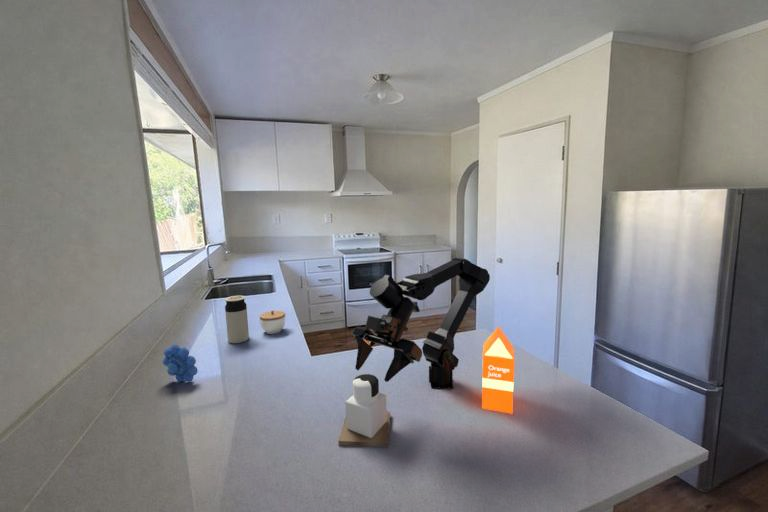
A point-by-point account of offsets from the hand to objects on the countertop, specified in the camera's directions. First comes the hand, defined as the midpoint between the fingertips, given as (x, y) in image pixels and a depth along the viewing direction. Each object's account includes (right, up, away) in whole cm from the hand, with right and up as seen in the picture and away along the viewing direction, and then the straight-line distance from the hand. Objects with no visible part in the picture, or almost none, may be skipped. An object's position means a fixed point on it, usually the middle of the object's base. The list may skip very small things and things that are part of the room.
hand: (370, 375), depth 78 cm
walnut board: (-1, -13, 0) cm, 13 cm away
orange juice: (+34, -11, +10) cm, 37 cm away
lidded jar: (-46, -5, +67) cm, 81 cm away
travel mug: (-57, -7, +57) cm, 81 cm away
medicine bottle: (-1, -12, 0) cm, 12 cm away
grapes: (-61, -11, +24) cm, 66 cm away
